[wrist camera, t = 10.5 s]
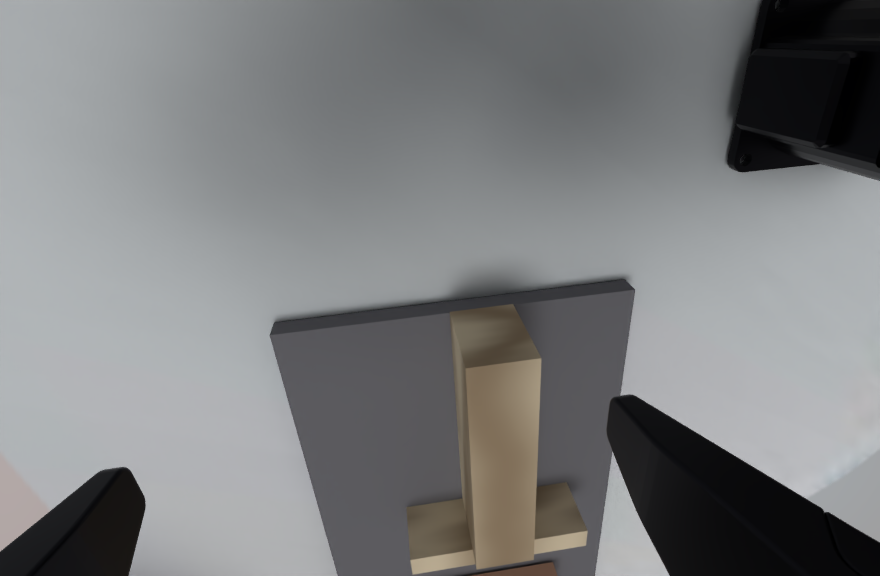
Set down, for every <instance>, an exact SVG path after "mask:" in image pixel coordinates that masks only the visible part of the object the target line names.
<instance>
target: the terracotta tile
mask: <svg viewBox="0 0 880 576" xmlns="http://www.w3.org/2000/svg"><path fill="white" fill-rule="evenodd" d="M472 576H557V573H556V570H555V567H554V564H553V562H550V563H544V564H538V565H532V566H526V567H520V568H514V569H508V570H502V571H496V572H490V573H484V574H478V575H472Z"/></svg>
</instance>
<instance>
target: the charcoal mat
mask: <svg viewBox="0 0 880 576" xmlns="http://www.w3.org/2000/svg"><path fill="white" fill-rule="evenodd" d="M634 294H635V289H634V288H633V287H632V286H631V285H630V284H629V283H628V282H627V281H626V280H618V281H609V282H601V283H593V284H585V285H577V286H569V287H561V288H553V289H544V290H536V291H528V292H520V293H512V294H504V295H496V296H488V297H479V298H471V299H463V300H455V301H447V302H439V303H431V304H423V305H414V306H406V307H398V308H390V309H382V310H374V311H366V312H358V313H349V314H341V315H333V316H325V317H317V318H309V319H301V320H293V321H284V322H276V323H274V324H273V327H272V330H271V333H270V338H271V341H272V345H273V348H274V352H275V355H276V359H277V362H278V366H279V370H280V373H281V377H282V380H283V384H284V387H285V391H286V394H287V398H288V401H289V405H290V408H291V412H292V415H293V419H294V423H295V426H296V430H297V433H298V437H299V440H300V444H301V447H302V451H303V454H304V458H305V461H306V465H307V468H308V472H309V475H310V479H311V483H312V486H313V490H314V493H315V497H316V500H317V504H318V507H319V511H320V514H321V518H322V521H323V525H324V528H325V532H326V536H327V539H328V543H329V546H330V550H331V553H332V557H333V560H334V564H335V567H336V571H337V574H338V576H472V575H478V574H484V573H490V572H496V571H502V570H508V569H514V568H520V567H526V566H532V565H538V564H544V563H550V562H553V564H554V567H555V570H556V573H557V576H595V570H596V563H597V556H598V549H599V542H600V535H601V527H602V520H603V513H604V506H605V499H606V492H607V485H608V478H609V471H610V464H611V457H612V448H611V446H610V443H609V441H608V437H607V432H606V427H607V419H608V411H609V404H610V400H611V399H612V398H613V397H616V396H620V393H621V386H622V379H623V372H624V364H625V357H626V350H627V343H628V336H629V329H630V322H631V315H632V308H633V301H634ZM509 304H513V305H514V307H515V309H516V311H517V313H518V314H519V316H520V318H521V320H522V322H523V324H524V326H525V328H526V330H527V332H528V333H529V335H530V337H531V339H532V341H533V343H534V345H535V347H536V349H537V351H538V352H539V354H540V356H541V384H540V410H539V436H538V462H537V487H539V486H546V485H552V484H558V483H565V482H567V484H568V487H569V489H570V491H571V494H572V496H573V498H574V500H575V503H576V505H577V507H578V510H579V512H580V514H581V517H582V519H583V521H584V523H585V526H586V528H587V530H588V533H587V541H586V546H581V547H575V548H569V549H563V550H557V551H551V552H545V553H539V554H534V560H530V561H524V562H518V563H512V564H506V565H500V566H495V567H489V568H483V569H476V564H474V565H468V566H462V567H456V568H450V569H444V570H438V571H432V572H426V573H420V574H414V575H413V574H412V567H411V561H410V549H409V535H408V522H407V509H406V507H411V506H418V505H424V504H431V503H437V502H443V501H450V500H456V499H463V498H462V484H461V469H460V455H459V441H458V426H457V412H456V397H455V383H454V368H453V354H452V340H451V325H450V312H453V311H461V310H469V309H477V308H485V307H493V306H501V305H509Z"/></svg>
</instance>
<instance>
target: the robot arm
mask: <svg viewBox="0 0 880 576" xmlns="http://www.w3.org/2000/svg"><path fill="white" fill-rule="evenodd" d="M776 2H777V0H763V1H762V4H761V7H760V12H759V16H758V21H757V26H756V30H755V35H754V40H753V44H752V49H751V54H750V57H749V61H748V66H747V70H746V75H745V80H744V84H743V89H742V94H741V99H740V103H739V108H738V113H737V117H736V124H735V128H734V133H733V138H732V142H731V147H730V152H729V156H728V165H729V167H730V168H731V169H733V170H736V171H738V172H749V171H758V170H768V169H777V168H787V167H796V166H805V165H815V164H823V165H827V166H830V167H834V168H837V169H841V170H844V171H847V172H851V173H854V174H858V175H861V176H865V177H868V178H872V179H875V180H879V181H880V0H780V6H779V9H778V10H777V11H776V10H775V4H776ZM743 155H745V159H744V161H742V162H741V163H740V159H741V157H742V156H743ZM606 432H607V437H608V441H609V443H610V446H611V448H612V451H613V453H614V456H615V458H616V461H617V463H618V466H619V469H620V471H621V474H622V476H623V479H624V481H625V484H626V486H627V489H628V491H629V494H630V496H631V499H632V501H633V504H634V506H635V508H636V511H637V513H638V515H639V517H640V519H641V521H642V523H643V525H644V527H645V529H646V531H647V533H648V535H649V537H650V539H651V541H652V543H653V545H654V546H655V548H656V550H657V552H658V554H659V556H660V558H661V560H662V562H663V564H664V566H665V567H666V569H667V571H668V573H669V575H670V576H880V542H878V541H876V540H875V539H873V538H871V537H869V536H868V535H866V534H864V533H863V532H861V531H859V530H857V529H856V528H854V527H852V526H851V525H849V524H847V523H846V522H844V521H842V520H841V519H839V518H837V517H836V516H834V515H832V514H831V513H829V512H825V513H824V511H823V509H822V508H821V507H819V506H817V505H815V504H814V503H812V502H810V501H809V500H807V499H806V498H804V497H802V496H801V495H799V494H797V493H796V492H794V491H792V490H791V489H789V488H787V487H786V486H784V485H782V484H781V483H779V482H777V481H776V480H774V479H772V478H771V477H769V476H767V475H766V474H764V473H762V472H761V471H759V470H757V469H756V468H754V467H752V466H751V465H749V464H748V463H746V462H744V461H743V460H741V459H739V458H738V457H736V456H734V455H733V454H731V453H729V452H728V451H726V450H724V449H723V448H721V447H719V446H718V445H716V444H714V443H713V442H711V441H709V440H708V439H706V438H704V437H703V436H701V435H699V434H698V433H696V432H694V431H693V430H691V429H689V428H688V427H686V426H684V425H683V424H681V423H680V422H678V421H676V420H675V419H673V418H671V417H670V416H668V415H666V414H665V413H663V412H661V411H660V410H658V409H656V408H655V407H653V406H651V405H650V404H648V403H646V402H645V401H643V400H641V399H640V398H638V397H636V396H634V395H623V396H616V397H613V398H612V399H611V400H610V404H609V411H608V419H607V427H606ZM144 512H145V498H144V495H143V493H142V491H141V489H140V487H139V486H138V484H137V482H136V480H135V478H134V476H133V474H132V472H131V471H130V470H129V469H128V468H126V467H119V468H112V469H105V470H102V471H100V472H98V473H97V474H95V475H94V476H93V477H92V478H91V479H89V480H88V481H87V482H86V483H84V484H83V485H82V486H81V487H79V488H78V489H77V490H76V491H75V492H73V493H72V494H71V495H70V496H68V497H67V498H66V499H65V500H63V501H62V502H61V503H60V504H58V505H57V506H56V507H55V508H54V509H52V510H51V511H50V512H49V513H48V514H46V515H45V516H44V517H43V518H41V519H40V520H39V521H38V522H37V523H35V524H34V525H33V526H31V527H30V528H29V529H28V530H26V531H25V532H24V533H23V534H22V535H20V536H19V537H18V538H17V539H15V540H14V541H13V542H12V543H10V544H9V545H8V546H7V547H5V548H4V549H3V550H2V551H1V552H0V576H128V575H129V571H130V568H131V564H132V560H133V556H134V552H135V548H136V544H137V540H138V536H139V532H140V528H141V524H142V520H143V516H144Z"/></svg>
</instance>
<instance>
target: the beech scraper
mask: <svg viewBox="0 0 880 576" xmlns="http://www.w3.org/2000/svg"><path fill="white" fill-rule="evenodd" d="M450 325H451V340H452V354H453V368H454V383H455V397H456V412H457V426H458V441H459V455H460V469H461V484H462V498H463V499H456V500H450V501H443V502H437V503H431V504H424V505H418V506H411V507H406V509H407V522H408V535H409V549H410V561H411V567H412V574H413V575H414V574H420V573H426V572H432V571H438V570H444V569H450V568H456V567H462V566H468V565H474V564H476V569H483V568H489V567H495V566H500V565H506V564H512V563H518V562H524V561H530V560H534V554H539V553H545V552H551V551H557V550H563V549H569V548H575V547H581V546H586V541H587V533H588V530H587V528H586V526H585V523H584V521H583V519H582V517H581V514H580V512H579V510H578V507H577V505H576V503H575V500H574V498H573V496H572V494H571V491H570V489H569V487H568V484H567V482H565V483H558V484H552V485H546V486H539V487H537V462H538V436H539V410H540V384H541V356H540V354H539V352H538V351H537V349H536V347H535V345H534V343H533V341H532V339H531V337H530V335H529V333H528V332H527V330H526V328H525V326H524V324H523V322H522V320H521V318H520V316H519V314H518V313H517V311H516V309H515V307H514V305H513V304H509V305H501V306H493V307H485V308H477V309H469V310H461V311H453V312H450Z"/></svg>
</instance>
